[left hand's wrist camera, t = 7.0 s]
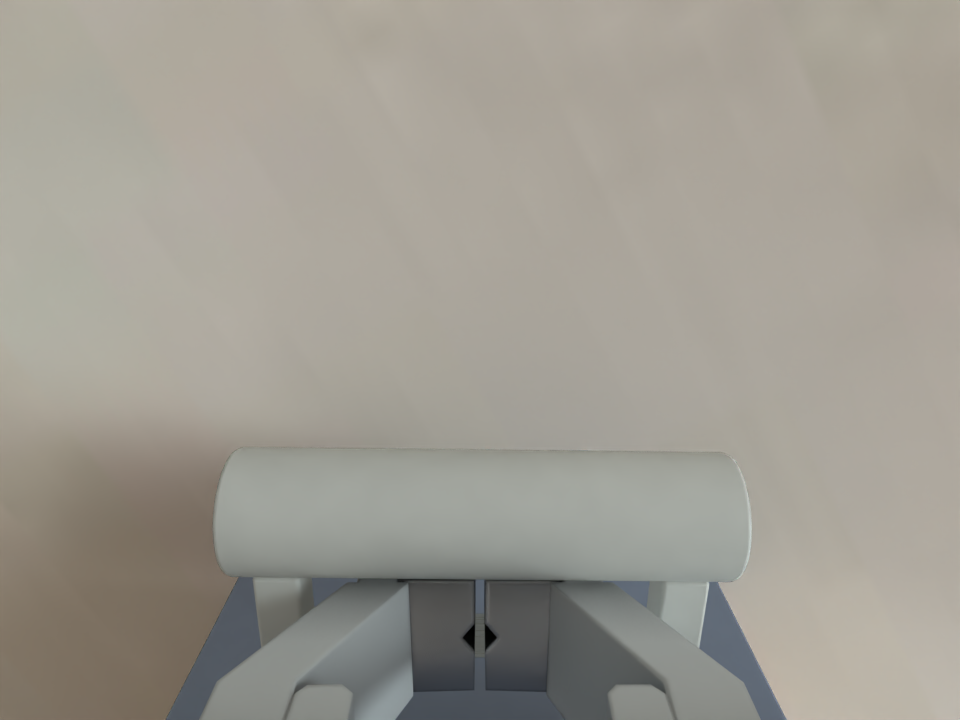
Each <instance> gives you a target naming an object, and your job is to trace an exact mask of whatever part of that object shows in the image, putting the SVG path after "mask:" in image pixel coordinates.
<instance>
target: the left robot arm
mask: <svg viewBox="0 0 960 720" xmlns="http://www.w3.org/2000/svg"><path fill="white" fill-rule="evenodd" d="M475 601H476V579H379V578H358V580H357V582H347V583H346V584H344V585H343V586H342V587H340V588H339V589H338V590H336V591H335V592H334V593H332V594H331V595H330V596H329V597H327V598H326V599H325V600H323V601H322V602H321V603H319V604H318V605H317V606H315V607H314V608H313V609H311V610H310V611H309V612H307V613H306V614H305V615H304V616H302V617H301V618H300V619H298V620H297V621H296V622H294V623H293V624H292V625H290V626H289V627H288V628H286V629H285V630H284V631H283V632H281V633H280V634H279V635H277V636H276V637H275V638H273V639H272V640H271V641H269V642H268V643H267V644H265V645H264V646H263V647H261V648H260V649H259V650H258V651H256V652H255V653H254V654H252V655H251V656H250V657H248V658H247V659H246V660H244V661H243V662H242V663H240V664H239V665H238V666H236V667H235V668H234V669H233V670H231V671H230V672H229V673H227V674H226V675H225V676H223V677H222V678H221V679H219V680H218V681H217V682H216V684H215V686H214V689H213V691H212V693H211V695H210V697H209V699H208V701H207V704H206V706H205V708H204V710H203V712H202V714H201V716H200V719H199V720H395V719H396V718H397V717H398V715H399V714H400V713H401V711H402V710H403V709H404V707H405V706H406V705H407V704H408V702H409V701H410V700H411V698H412V697H413V692H435V691H470V690H474V686H475ZM484 625H485V690H488V691H523V692H547V693H546V695H547V696H548V698H549V699H550V700H551V702H552V703H553V704H554V706H555V707H556V708H557V710H558V711H559V712H560V714H561V715H562V716H563V718H564V719H565V720H761V719H760V717H759V715H758V712H757V710H756V708H755V706H754V704H753V701H752V699H751V697H750V695H749V693H748V691H747V688H746V686H745V684H744V682H742V681H741V680H740V679H739V678H737V677H736V676H735V675H733V674H732V673H731V672H729V671H728V670H727V669H725V668H724V667H723V666H721V665H720V664H719V663H718V662H716V661H715V660H714V659H712V658H711V657H710V656H708V655H707V654H706V653H704V652H703V651H702V650H701V649H699V648H698V647H697V646H695V645H694V644H693V643H691V642H690V641H689V640H687V639H686V638H685V637H684V636H682V635H681V634H680V633H678V632H677V631H676V630H674V629H673V628H672V627H670V626H669V625H668V624H667V623H665V622H664V621H663V620H661V619H660V618H659V617H657V616H656V615H655V614H653V613H652V612H651V611H650V610H648V609H647V608H646V607H644V606H643V605H642V604H640V603H639V602H638V601H636V600H635V599H634V598H633V597H631V596H630V595H629V594H627V593H626V592H625V591H623V590H622V589H621V588H619V587H618V586H617V585H615V584H614V583H613V582H603V581H576V580H484Z"/></svg>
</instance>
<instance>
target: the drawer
mask: <svg viewBox="0 0 960 720" xmlns="http://www.w3.org/2000/svg"><path fill="white" fill-rule="evenodd" d="M751 537H752V520H751V509H750V502H749V496H748V492H747V488H746V484H745V481H744V478H743V475H742V472H741V470H740V468H739V466H738V465H737V463H736V462H735V460H734V459H733V458H732V457H731V456H729V455H727V454H725V453H722V452H649V451H558V450H468V449H377V448H287V447H242V448H239V449H237V450H235V451H234V452H233V453H232V454H231V455H230V456H229V458H228V460H227V461H226V463H225V465H224V468H223V470H222V473H221V476H220V479H219V483H218V487H217V491H216V496H215V502H214V511H213V542H214V550H215V555H216V559H217V562H218V565H219V567H220V569H221V570H222V571H223V572H224V573H225V574H226V575H228V576H231V577H239V578H238V580H237V582H236V584H235V586H234V588H233V590H232V591H231V593H230V595H229V597H228V599H227V601H226V603H225V605H224V607H223V609H222V611H221V613H220V615H219V617H218V619H217V621H216V623H215V625H214V626H213V628H212V630H211V632H210V634H209V636H208V638H207V640H206V642H205V644H204V646H203V648H202V650H201V652H200V654H199V656H198V658H197V660H196V661H195V663H194V665H193V667H192V669H191V671H190V673H189V675H188V677H187V679H186V681H185V683H184V685H183V687H182V689H181V691H180V693H179V695H178V697H177V698H176V700H175V702H174V704H173V706H172V708H171V710H170V712H169V714H168V716H167V718H166V720H199V719H200V716H201V714H202V712H203V710H204V708H205V706H206V704H207V701H208V699H209V697H210V695H211V693H212V691H213V689H214V686H215V684H216V682H217V681H218V680H219V679H221V678H222V677H223V676H225V675H226V674H227V673H229V672H230V671H231V670H233V669H234V668H235V667H236V666H238V665H239V664H240V663H242V662H243V661H244V660H246V659H247V658H248V657H250V656H251V655H252V654H254V653H255V652H256V651H258V650H259V649H260V648H261V647H263V646H264V645H265V644H267V643H268V642H269V641H271V640H272V639H273V638H275V637H276V636H277V635H279V634H280V633H281V632H283V631H284V630H285V629H286V628H288V627H289V626H290V625H292V624H293V623H294V622H296V621H297V620H298V619H300V618H301V617H302V616H304V615H305V614H306V613H307V612H309V611H310V610H311V609H313V608H314V607H315V606H317V605H318V604H319V603H321V602H322V601H323V600H325V599H326V598H327V597H329V596H330V595H331V594H332V593H334V592H335V591H336V590H338V589H339V588H340V587H342V586H343V585H344V584H346V583H347V582H357V580H358V578H379V579H476V601H475V686H474V690H470V691H435V692H413V697H412V698H411V700H410V701H409V702H408V704H407V705H406V706H405V707H404V709H403V710H402V711H401V713H400V714H399V715H398V717H397V718H396V719H395V720H565V719H564V718H563V716H562V715H561V714H560V712H559V711H558V710H557V708H556V707H555V706H554V704H553V703H552V702H551V700H550V699H549V698H548V696H547V695H546V693H547V692H523V691H488V690H485V625H484V580H576V581H603V582H613V583H614V584H615V585H617V586H618V587H619V588H621V589H622V590H623V591H625V592H626V593H627V594H629V595H630V596H631V597H633V598H634V599H635V600H636V601H638V602H639V603H640V604H642V605H643V606H644V607H646V608H647V609H648V610H650V611H651V612H652V613H653V614H655V615H656V616H657V617H659V618H660V619H661V620H663V621H664V622H665V623H667V624H668V625H669V626H670V627H672V628H673V629H674V630H676V631H677V632H678V633H680V634H681V635H682V636H684V637H685V638H686V639H687V640H689V641H690V642H691V643H693V644H694V645H695V646H697V647H698V648H699V649H701V650H702V651H703V652H704V653H706V654H707V655H708V656H710V657H711V658H712V659H714V660H715V661H716V662H718V663H719V664H720V665H721V666H723V667H724V668H725V669H727V670H728V671H729V672H731V673H732V674H733V675H735V676H736V677H737V678H739V679H740V680H741V681H742V682H744V684H745V686H746V688H747V691H748V693H749V695H750V697H751V699H752V701H753V704H754V706H755V708H756V710H757V712H758V715H759V717H760V719H761V720H786V718H785V716H784V714H783V712H782V710H781V708H780V706H779V704H778V702H777V700H776V698H775V696H774V694H773V692H772V690H771V688H770V686H769V684H768V682H767V680H766V678H765V676H764V674H763V672H762V670H761V668H760V666H759V664H758V662H757V660H756V658H755V656H754V654H753V652H752V650H751V648H750V646H749V644H748V642H747V640H746V638H745V636H744V634H743V632H742V630H741V628H740V626H739V624H738V622H737V620H736V618H735V616H734V614H733V612H732V610H731V608H730V606H729V604H728V602H727V600H726V598H725V596H724V594H723V592H722V590H721V588H720V586H719V584H718V582H732V581H734V580H737V579H738V578H740V577H741V576H742V574H743V572H744V571H745V568H746V566H747V563H748V559H749V555H750V548H751Z"/></svg>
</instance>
